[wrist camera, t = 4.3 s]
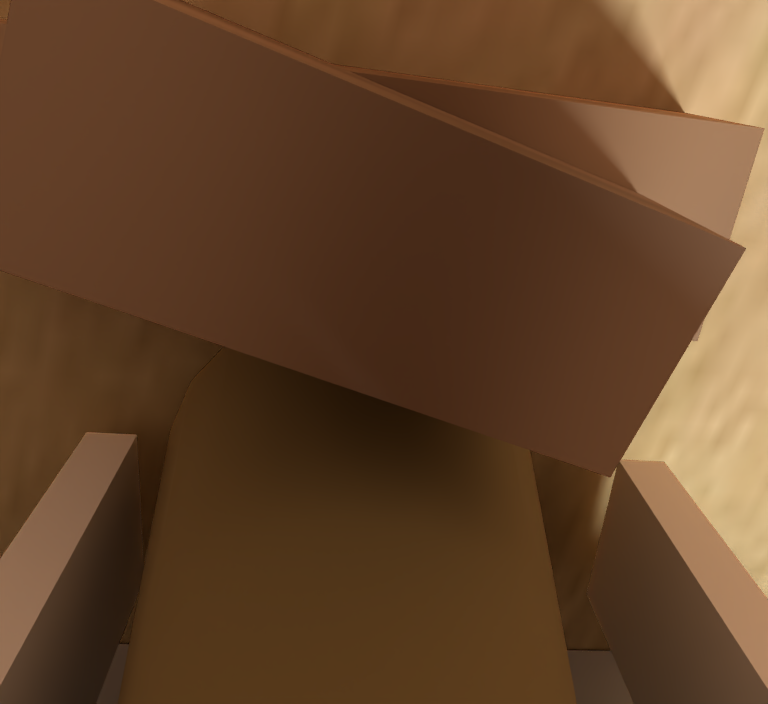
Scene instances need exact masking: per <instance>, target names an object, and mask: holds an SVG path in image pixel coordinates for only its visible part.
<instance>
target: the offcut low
mask: <svg viewBox="0 0 768 704" xmlns="http://www.w3.org/2000/svg"><path fill="white" fill-rule="evenodd" d="M6 25H7V20H4V19H0V57H1V51H2V46H3V41H4V35H5V30H6ZM333 65H336V64H333ZM336 66H338V67H340V68H343V69H345V70H347V71H350V72H352V73H355V74H357V75H359V76H362V77H364V78H366V79H369V80H371V81H374V82H376V83H378V84H381V85H383V86H385V87H388V88H390V89H393V90H395V91H397V92H400V93H402V94H404V95H407V96H409V97H412V98H414V99H416V100H419V101H421V102H423V103H426V104H428V105H430V106H433V107H435V108H438V109H440V110H442V111H445V112H447V113H449V114H452V115H454V116H457V117H459V118H461V119H464V120H466V121H468V122H471V123H473V124H476V125H478V126H480V127H483V128H485V129H487V130H490V131H492V132H495V133H497V134H499V135H502V136H504V137H506V138H509V139H511V140H514V141H516V142H518V143H521V144H523V145H525V146H528V147H530V148H533V149H535V150H537V151H540V152H542V153H544V154H547V155H549V156H552V157H554V158H556V159H559V160H561V161H563V162H566V163H568V164H571V165H573V166H575V167H578V168H580V169H582V170H585V171H587V172H589V173H592V174H594V175H597V176H599V177H601V178H604V179H606V180H608V181H611V182H613V183H616V184H618V185H620V186H623V187H625V188H627V189H630V190H632V191H635V192H637V193H639V194H641V195H643V196H645V197H647V198H649V199H651V200H653V201H655V202H657V203H659V204H661V205H663V206H665V207H667V208H668V209H670V210H672V211H674V212H676V213H678V214H680V215H682V216H684V217H686V218H688V219H690V220H692V221H694V222H696V223H698V224H700V225H702V226H704V227H705V228H707V229H709V230H711V231H713V232H715V233H717V234H719V235H721V236H723V237H725V238H727V239H730V236H731V233H732V230H733V227H734V223H735V220H736V217H737V214H738V211H739V207H740V204H741V201H742V198H743V195H744V192H745V188H746V185H747V182H748V179H749V176H750V173H751V169H752V166H753V163H754V160H755V157H756V154H757V150H758V147H759V144H760V141H761V138H762V135H763V131H764V128H759V127H754V126H749V125H744V124H739V123H734V122H729V121H724V120H719V119H714V118H709V117H703V116H698V115H693V114H688V113H682V112H675V111H668V110H661V109H654V108H646V107H639V106H632V105H625V104H617V103H610V102H603V101H596V100H588V99H581V98H574V97H567V96H560V95H552V94H545V93H538V92H531V91H523V90H516V89H509V88H502V87H495V86H487V85H480V84H473V83H466V82H458V81H451V80H444V79H437V78H429V77H422V76H415V75H408V74H401V73H393V72H386V71H379V70H372V69H364V68H357V67H350V66H343V65H336ZM703 322H704V320H703ZM703 322H702V324H701V325H700V327H699V329H698V330H697V332H696V334H695V335H694V337H693V339H692V341H698V337H699V334H700V331H701V328H702V325H703Z"/></svg>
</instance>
